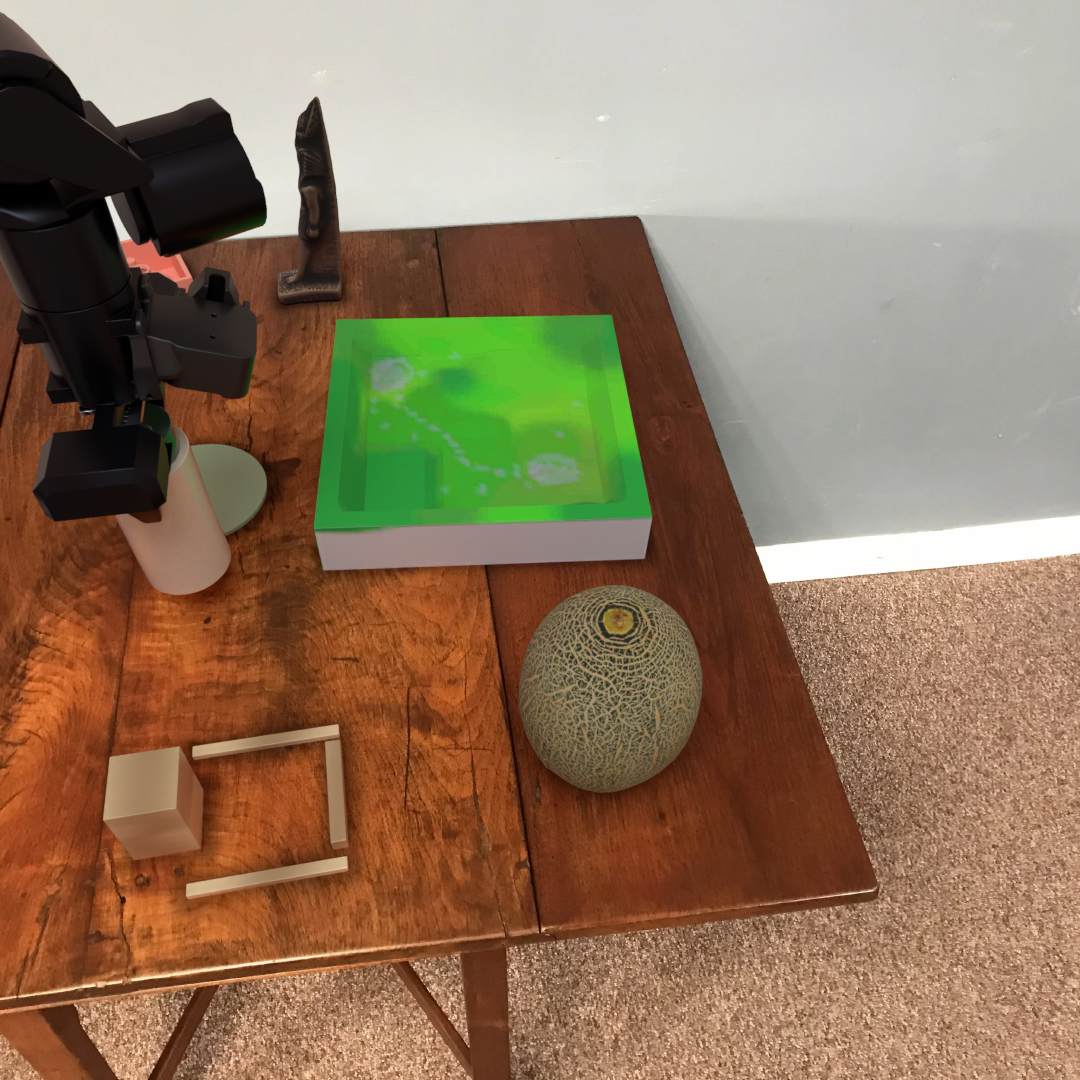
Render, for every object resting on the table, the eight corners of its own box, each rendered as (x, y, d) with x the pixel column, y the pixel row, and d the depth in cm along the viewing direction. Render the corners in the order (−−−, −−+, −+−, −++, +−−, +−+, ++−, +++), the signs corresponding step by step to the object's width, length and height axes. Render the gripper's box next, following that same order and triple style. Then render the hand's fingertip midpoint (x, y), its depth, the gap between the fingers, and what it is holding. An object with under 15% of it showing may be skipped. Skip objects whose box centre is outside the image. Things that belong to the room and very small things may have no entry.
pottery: (83, 290, 94) (47, 200, 87) (178, 266, 97) (151, 177, 90) (126, 396, 84) (89, 305, 77) (229, 366, 87) (204, 275, 80)
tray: (606, 358, 90) (611, 314, 86) (644, 559, 74) (652, 517, 70) (343, 363, 88) (336, 319, 84) (323, 571, 72) (313, 528, 68)
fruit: (531, 662, 67) (538, 525, 56) (687, 685, 67) (726, 552, 55) (503, 810, 60) (504, 688, 49) (677, 839, 59) (720, 721, 48)
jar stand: (130, 910, 55) (96, 872, 51) (142, 758, 62) (114, 712, 57) (350, 871, 57) (337, 831, 53) (341, 727, 64) (328, 680, 59)
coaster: (143, 563, 72) (141, 559, 72) (117, 470, 78) (115, 466, 78) (284, 519, 75) (283, 515, 75) (248, 433, 82) (247, 429, 81)
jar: (8, 556, 59) (109, 433, 53) (24, 488, 63) (120, 366, 57) (197, 619, 68) (303, 518, 62) (201, 555, 71) (301, 454, 65)
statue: (279, 283, 96) (238, 85, 81) (349, 278, 97) (322, 82, 82) (279, 308, 93) (237, 108, 78) (351, 302, 94) (323, 104, 79)
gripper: (227, 380, 44) (285, 581, 56) (235, 179, 56) (281, 380, 68) (-24, 404, 43) (90, 606, 55) (38, 192, 55) (121, 396, 67)
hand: (157, 485), depth 61 cm, fingers closed on jar, 6 cm apart
